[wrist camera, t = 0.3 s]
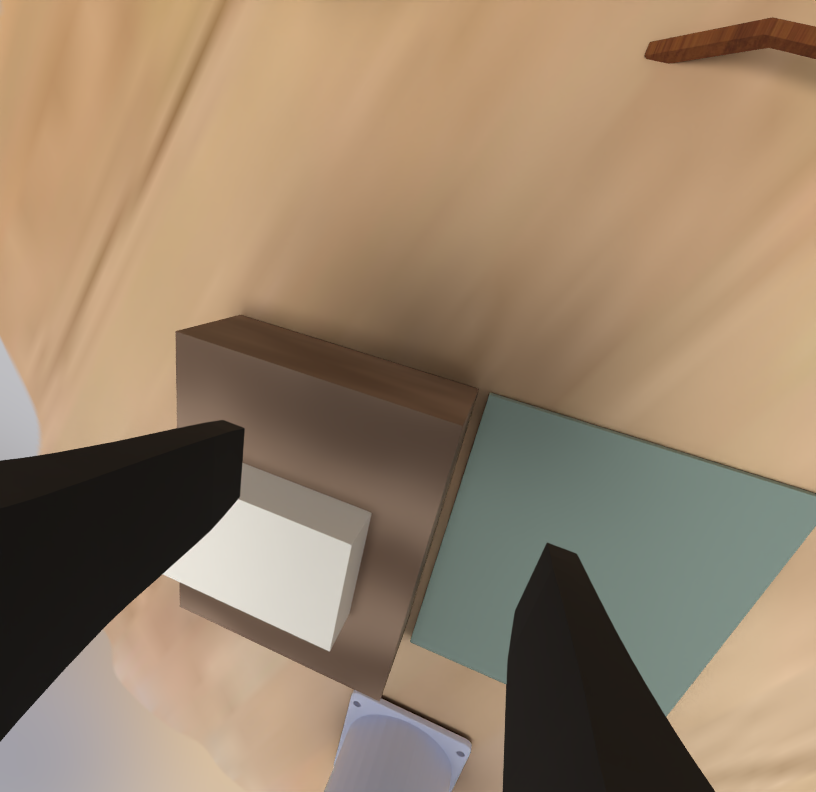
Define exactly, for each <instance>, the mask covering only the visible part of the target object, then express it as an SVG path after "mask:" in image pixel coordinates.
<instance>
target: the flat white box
mask: <svg viewBox="0 0 816 792" xmlns="http://www.w3.org/2000/svg"><path fill="white" fill-rule="evenodd" d="M371 514H372V513H371V512H368V511H366V510H363V509H361V508H358V507H356V506H353V505H350V504H348V503H345V502H343V501H340V500H337V499H335V498H332V497H330V496H327V495H324V494H322V493H319V492H317V491H314V490H312V489H309V488H306V487H304V486H301V485H299V484H296V483H293V482H291V481H288V480H286V479H283V478H281V477H278V476H275V475H273V474H270V473H268V472H265V471H262V470H260V469H257V468H255V467H252V466H249V465H247V464H244V463H242V476H241V490H240V498H239V499H238V500H237V501H236V502H235V504H234V505H233V506H232V507H231V508H230V509H229V511H228V512H227V513H226V514H225V515H224V517H223V518H222V519H221V520H220V521H219V522H218V523H217V524H216V525H215V527H214V528H213V529H212V530H211V531H210V532H209V533H208V534H207V535H206V536H204V537H203V538H202V539H201V540H200V541H199V542H198V543H197V544H196V545H195V546H193V547H192V548H191V549H190V550H189V551H188V552H187V553H186V554H185V555H183V556H182V557H181V558H180V559H179V560H178V561H177V562H176V563H174V564H173V565H172V566H171V567H170V568H169V569H168V570H167V571H165V572H164V573H163V575H165V576H168V577H170V578H172V579H174V580H176V581H178V582H181V583H183V584H185V585H187V586H189V587H191V588H193V589H196V590H198V591H200V592H202V593H204V594H206V595H209V596H211V597H213V598H215V599H217V600H219V601H221V602H224V603H226V604H228V605H230V606H232V607H234V608H237V609H239V610H241V611H243V612H245V613H247V614H250V615H252V616H254V617H256V618H258V619H260V620H262V621H265V622H267V623H269V624H271V625H273V626H275V627H278V628H280V629H282V630H284V631H286V632H288V633H291V634H293V635H295V636H297V637H299V638H301V639H303V640H306V641H308V642H310V643H312V644H314V645H316V646H319V647H321V648H323V649H325V650H327V651H329V652H330V650H331V648H332V646H333V644H334V642H335V640H336V639H337V637H338V635H339V633H340V631H341V629H342V627H343V625H344V623H345V621H346V619H347V617H348V615H349V613H350V609H351V604H352V600H353V595H354V591H355V586H356V582H357V577H358V573H359V568H360V564H361V559H362V555H363V550H364V546H365V541H366V537H367V532H368V528H369V523H370V519H371Z"/></svg>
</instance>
